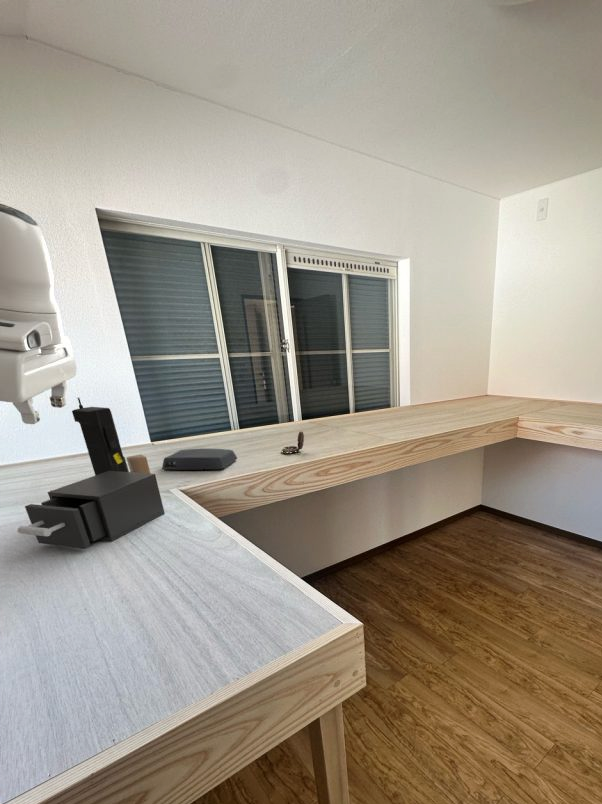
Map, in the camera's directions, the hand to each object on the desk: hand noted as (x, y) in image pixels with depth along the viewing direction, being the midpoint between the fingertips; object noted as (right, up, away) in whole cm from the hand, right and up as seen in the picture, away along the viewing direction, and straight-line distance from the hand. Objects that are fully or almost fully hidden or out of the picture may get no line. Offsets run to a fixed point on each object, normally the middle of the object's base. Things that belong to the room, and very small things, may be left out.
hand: (46, 414), depth 72 cm
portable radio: (-9, -14, +34) cm, 37 cm away
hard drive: (0, -2, +61) cm, 61 cm away
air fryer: (0, -20, +19) cm, 27 cm away
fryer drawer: (-2, -22, +12) cm, 25 cm away
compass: (+26, +4, +74) cm, 78 cm away
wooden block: (-9, -9, +44) cm, 46 cm away
